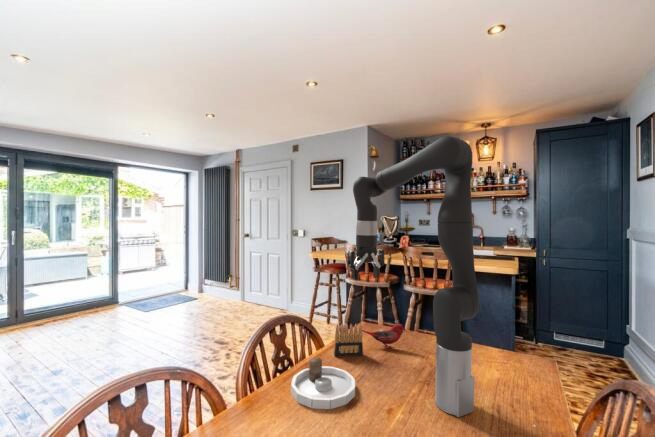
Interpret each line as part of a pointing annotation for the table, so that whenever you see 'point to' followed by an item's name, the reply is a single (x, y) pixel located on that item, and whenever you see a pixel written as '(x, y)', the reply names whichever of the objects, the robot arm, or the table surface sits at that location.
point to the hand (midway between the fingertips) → (366, 279)
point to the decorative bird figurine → (388, 334)
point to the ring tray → (323, 388)
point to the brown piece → (315, 369)
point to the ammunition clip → (348, 341)
